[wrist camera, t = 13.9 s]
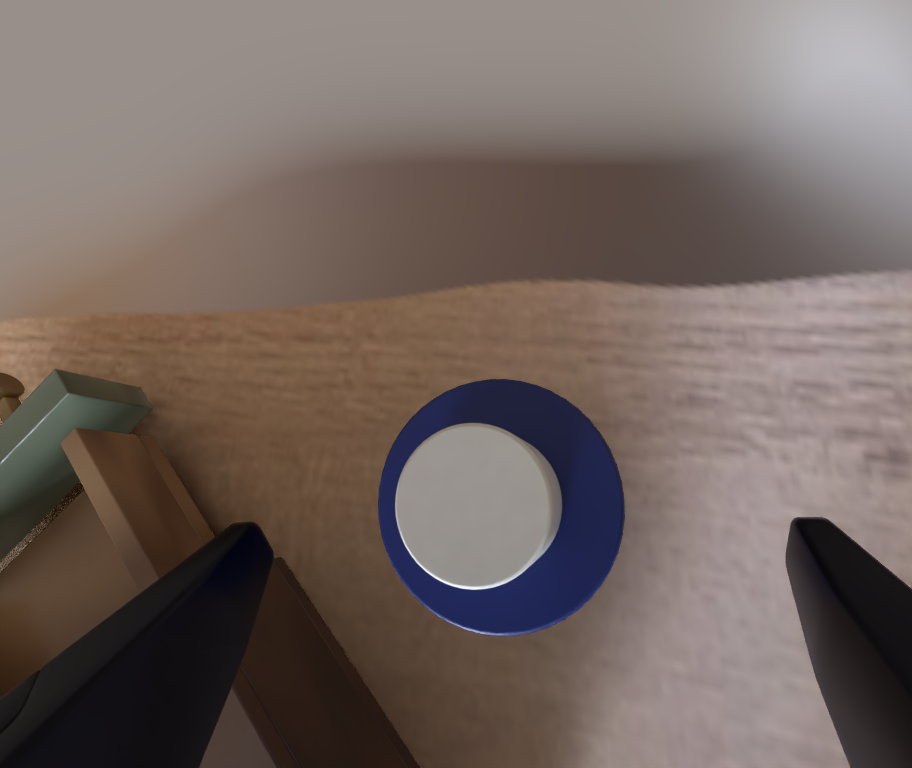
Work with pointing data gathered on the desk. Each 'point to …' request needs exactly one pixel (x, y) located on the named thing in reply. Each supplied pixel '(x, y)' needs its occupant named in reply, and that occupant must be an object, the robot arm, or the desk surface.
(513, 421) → the glue bottle
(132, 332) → the desk surface
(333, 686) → the cabinet
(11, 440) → the drawer
